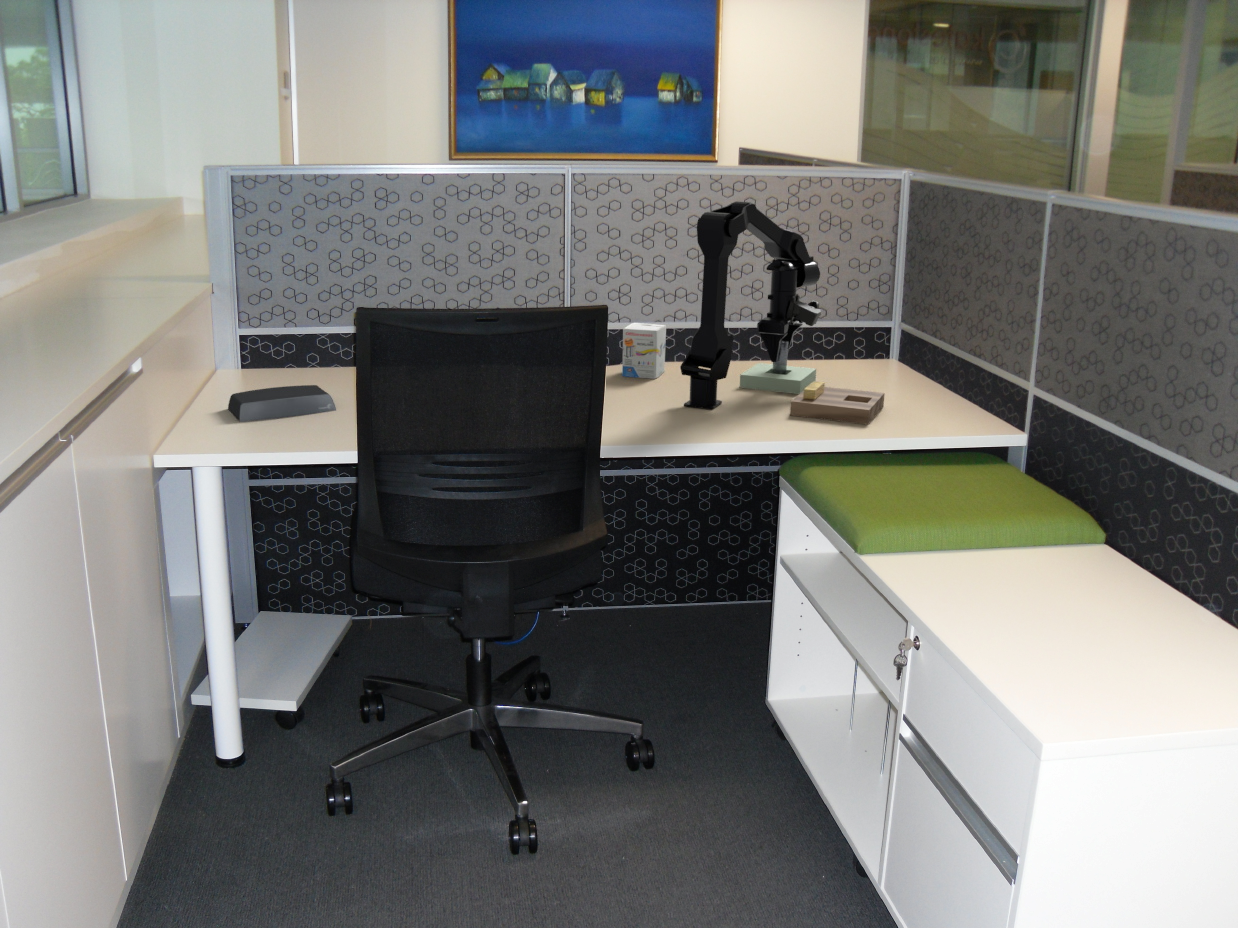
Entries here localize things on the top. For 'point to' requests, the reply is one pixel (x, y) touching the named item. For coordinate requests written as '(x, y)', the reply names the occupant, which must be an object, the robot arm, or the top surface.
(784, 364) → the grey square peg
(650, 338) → the ink box
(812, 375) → the green slotted base
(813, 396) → the yellow wooden bar
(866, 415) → the socket block
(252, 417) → the external hard drive
